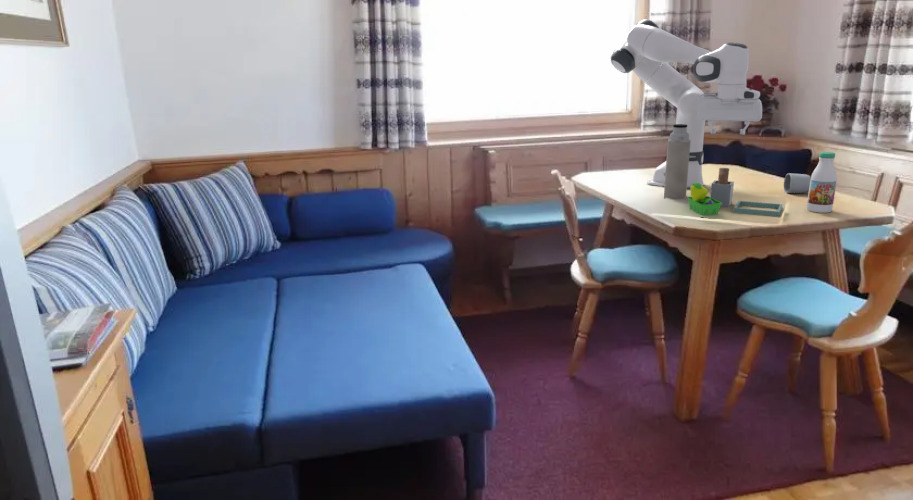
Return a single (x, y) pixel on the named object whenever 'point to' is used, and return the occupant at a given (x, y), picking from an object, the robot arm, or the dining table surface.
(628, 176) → the dining table surface
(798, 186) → the ceramic mug
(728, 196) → the pen cup
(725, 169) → the dowel pin
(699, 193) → the fruit basket
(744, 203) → the tray
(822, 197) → the milk bottle
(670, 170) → the thermos bottle
